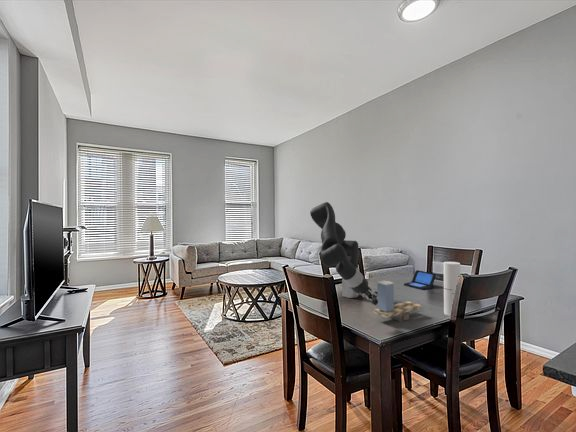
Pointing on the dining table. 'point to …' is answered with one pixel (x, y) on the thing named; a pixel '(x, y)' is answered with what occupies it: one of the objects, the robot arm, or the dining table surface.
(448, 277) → the cylindrical container
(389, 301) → the blue rectangular block
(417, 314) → the dining table surface
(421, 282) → the handheld game console
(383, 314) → the ginger root
